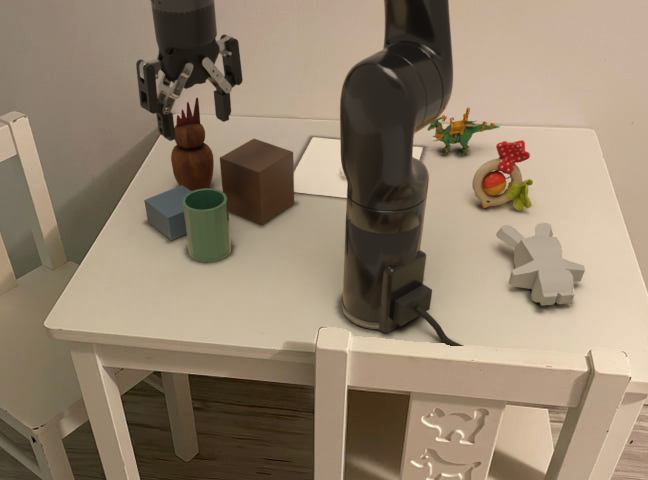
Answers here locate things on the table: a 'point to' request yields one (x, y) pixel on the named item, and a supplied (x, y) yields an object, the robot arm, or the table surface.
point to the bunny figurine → (541, 265)
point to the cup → (207, 224)
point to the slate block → (167, 212)
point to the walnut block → (258, 180)
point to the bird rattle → (503, 177)
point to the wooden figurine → (191, 152)
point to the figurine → (458, 131)
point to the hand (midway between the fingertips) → (196, 128)
